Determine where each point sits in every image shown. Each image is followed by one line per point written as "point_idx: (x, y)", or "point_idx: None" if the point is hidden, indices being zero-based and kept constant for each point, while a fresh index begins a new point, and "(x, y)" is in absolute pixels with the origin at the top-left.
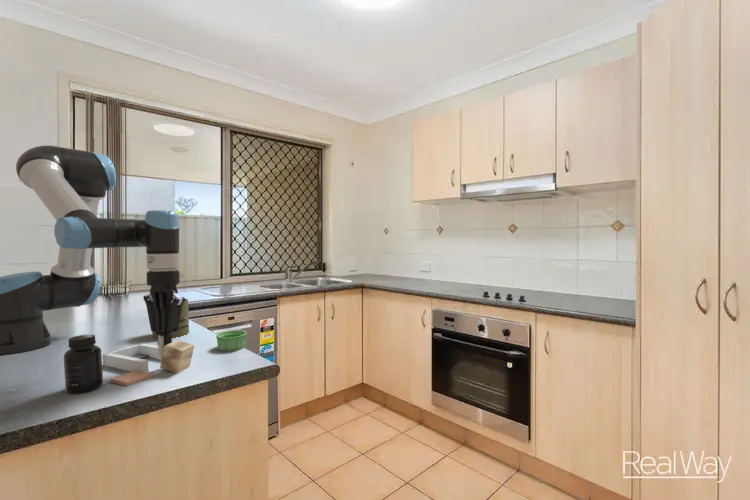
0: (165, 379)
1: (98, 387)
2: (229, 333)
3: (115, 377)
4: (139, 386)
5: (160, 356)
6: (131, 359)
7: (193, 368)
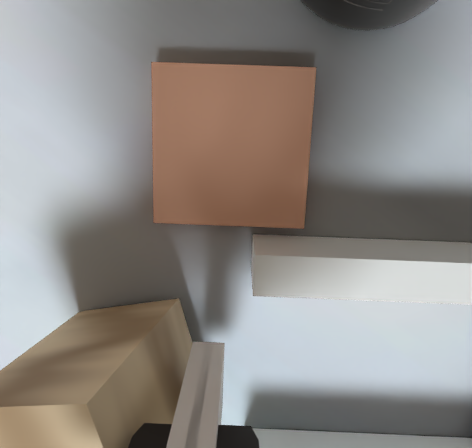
0: (49, 219)
1: None
2: None
3: (306, 93)
4: (84, 90)
5: (203, 359)
6: (391, 268)
7: None
